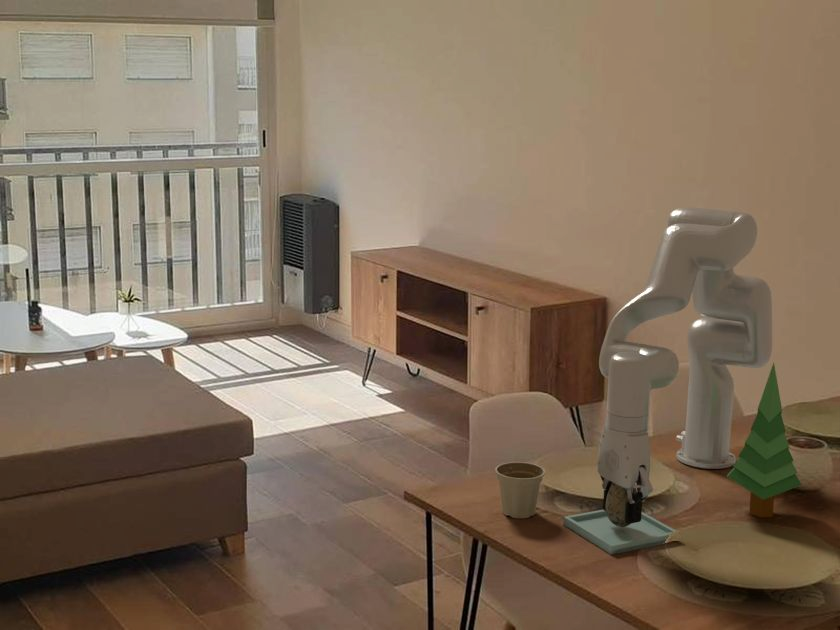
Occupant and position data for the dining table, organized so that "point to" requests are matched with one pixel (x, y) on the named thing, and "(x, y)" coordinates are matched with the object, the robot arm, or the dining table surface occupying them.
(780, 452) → the decorative tree
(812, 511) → the dining table surface
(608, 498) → the decorative egg
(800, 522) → the dining table surface
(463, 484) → the dining table surface
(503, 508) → the flower pot
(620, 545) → the teal dish
